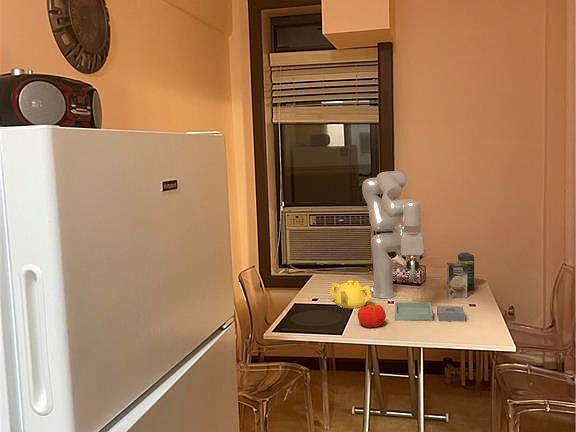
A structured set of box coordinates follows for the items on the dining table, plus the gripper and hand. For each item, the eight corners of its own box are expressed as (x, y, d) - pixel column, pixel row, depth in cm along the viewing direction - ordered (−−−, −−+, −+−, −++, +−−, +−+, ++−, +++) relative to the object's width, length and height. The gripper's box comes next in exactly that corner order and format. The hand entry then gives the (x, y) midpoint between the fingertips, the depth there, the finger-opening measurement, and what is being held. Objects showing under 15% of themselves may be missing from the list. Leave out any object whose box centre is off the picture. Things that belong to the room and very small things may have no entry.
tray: (394, 320, 264) (394, 313, 264) (395, 308, 283) (395, 302, 283) (432, 321, 262) (432, 314, 261) (430, 308, 280) (430, 302, 280)
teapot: (328, 302, 298) (327, 278, 296) (359, 298, 303) (359, 275, 301) (342, 311, 282) (341, 286, 280) (374, 307, 287) (374, 282, 285)
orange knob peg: (407, 279, 268) (407, 256, 267) (407, 276, 273) (407, 254, 271) (417, 279, 268) (417, 256, 266) (417, 276, 272) (417, 254, 271)
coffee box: (448, 297, 298) (448, 265, 296) (446, 294, 304) (446, 263, 302) (467, 297, 297) (467, 265, 295) (465, 294, 303) (465, 262, 301)
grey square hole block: (438, 321, 261) (438, 313, 261) (437, 313, 272) (436, 306, 271) (465, 321, 259) (464, 313, 259) (462, 314, 270) (462, 306, 269)
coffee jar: (475, 290, 310) (475, 254, 308) (460, 290, 311) (459, 255, 308) (471, 285, 319) (471, 251, 317) (456, 286, 320) (456, 251, 318)
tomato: (366, 319, 268) (366, 300, 267) (391, 323, 260) (391, 304, 259) (350, 326, 258) (350, 307, 257) (375, 331, 250) (375, 311, 249)
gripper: (393, 230, 265) (394, 272, 268) (431, 230, 262) (431, 272, 265) (393, 228, 273) (394, 268, 275) (430, 227, 270) (430, 268, 272)
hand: (412, 269), depth 270 cm, fingers closed on orange knob peg, 2 cm apart
